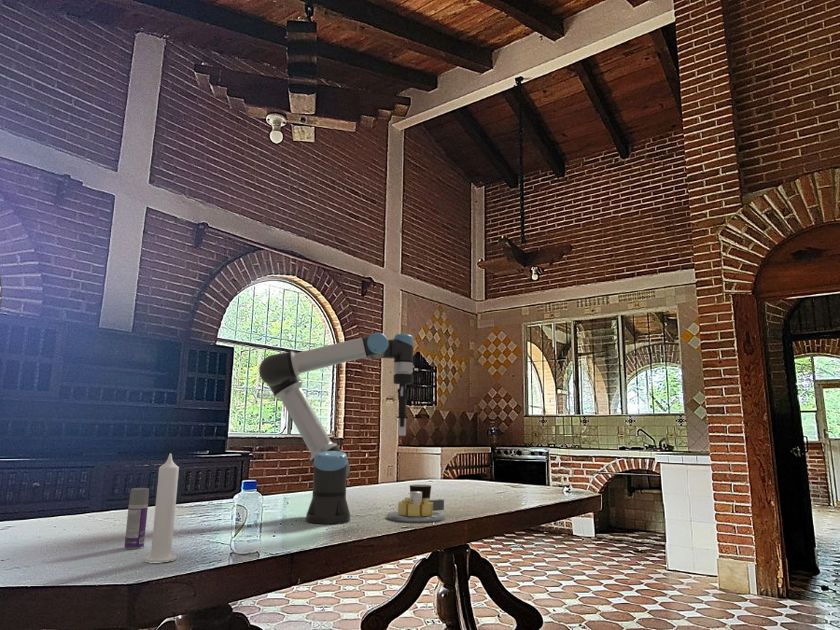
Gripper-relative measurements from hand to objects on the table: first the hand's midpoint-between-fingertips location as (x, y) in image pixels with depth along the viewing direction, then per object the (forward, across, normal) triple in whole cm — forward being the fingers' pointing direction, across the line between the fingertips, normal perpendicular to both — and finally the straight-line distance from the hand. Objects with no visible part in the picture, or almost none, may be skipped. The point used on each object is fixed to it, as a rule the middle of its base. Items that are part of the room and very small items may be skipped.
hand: (402, 435), depth 226 cm
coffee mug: (+30, +14, -7) cm, 33 cm away
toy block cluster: (+28, -3, -8) cm, 29 cm away
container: (+30, -69, +65) cm, 99 cm away
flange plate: (+29, -5, -6) cm, 30 cm away
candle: (+30, -83, +51) cm, 102 cm away
